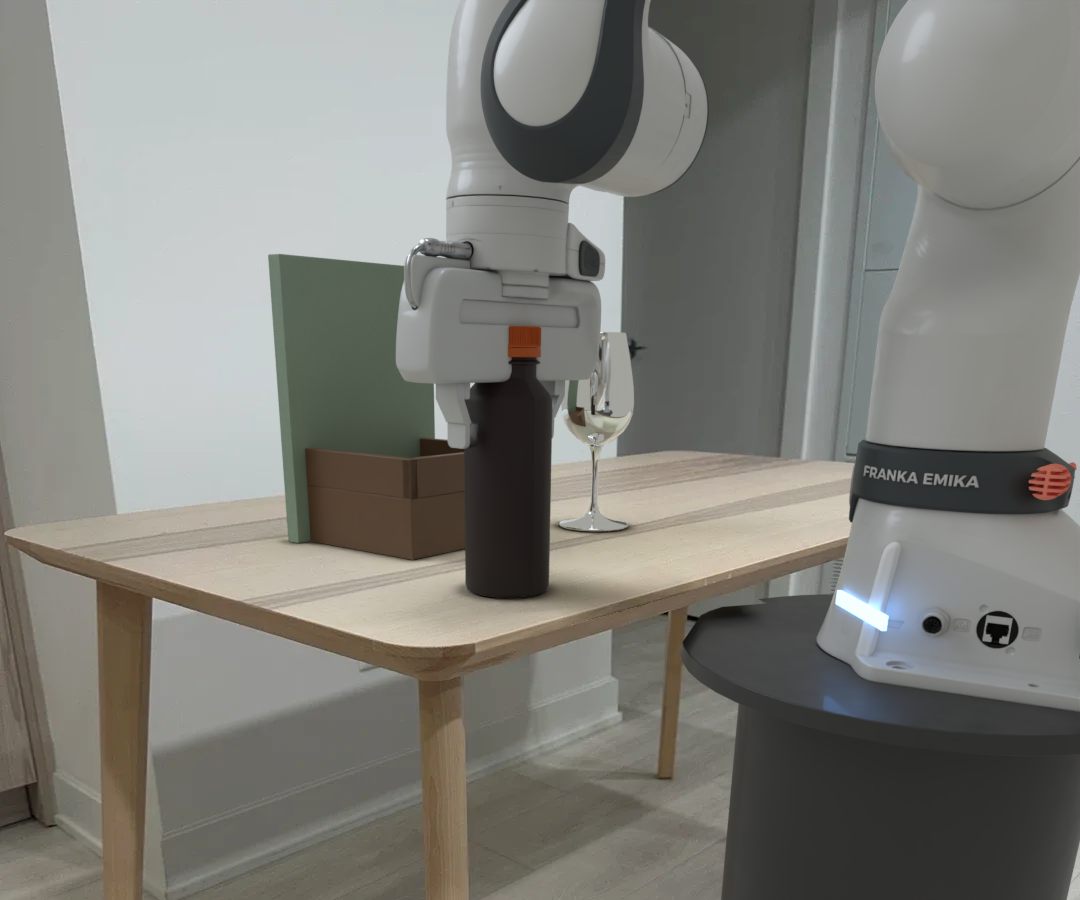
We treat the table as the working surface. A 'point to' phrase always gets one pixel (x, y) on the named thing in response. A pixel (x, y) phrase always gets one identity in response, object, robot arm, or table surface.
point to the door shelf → (357, 416)
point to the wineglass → (600, 417)
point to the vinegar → (510, 478)
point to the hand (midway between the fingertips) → (502, 443)
